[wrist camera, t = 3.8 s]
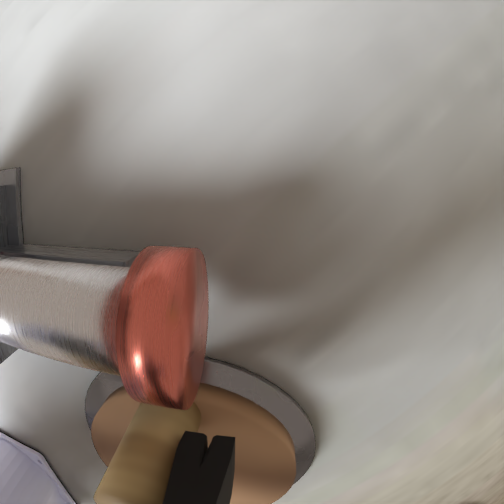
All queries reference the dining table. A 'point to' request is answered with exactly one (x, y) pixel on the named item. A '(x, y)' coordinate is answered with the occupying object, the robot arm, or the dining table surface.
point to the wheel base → (240, 384)
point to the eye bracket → (11, 244)
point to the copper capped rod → (115, 318)
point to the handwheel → (169, 435)
